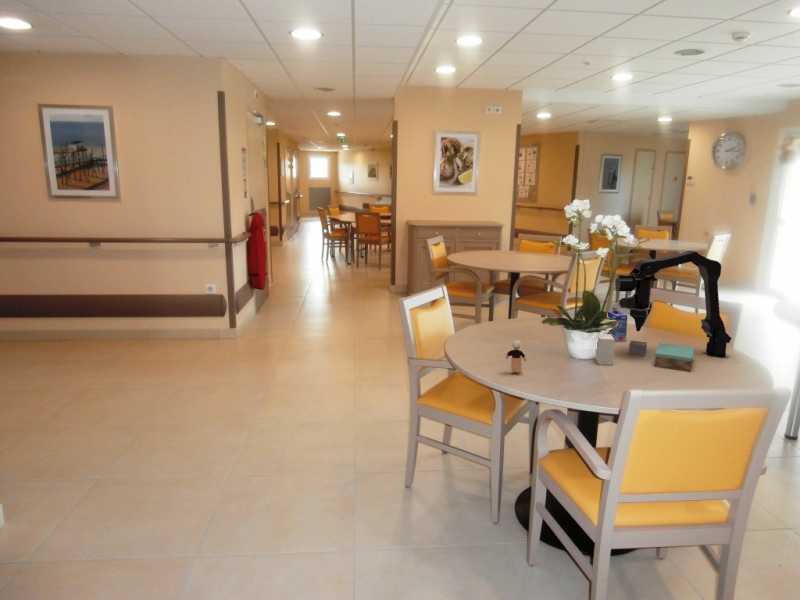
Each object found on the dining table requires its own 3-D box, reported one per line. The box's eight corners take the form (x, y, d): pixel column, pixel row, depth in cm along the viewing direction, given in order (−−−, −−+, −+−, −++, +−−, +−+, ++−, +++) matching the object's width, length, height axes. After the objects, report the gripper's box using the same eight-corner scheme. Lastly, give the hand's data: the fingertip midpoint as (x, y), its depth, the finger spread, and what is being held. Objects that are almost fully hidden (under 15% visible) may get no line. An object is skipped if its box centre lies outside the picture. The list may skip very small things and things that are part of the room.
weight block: (645, 353, 220) (646, 342, 219) (644, 357, 216) (645, 345, 215) (630, 351, 223) (631, 340, 222) (628, 354, 219) (629, 343, 218)
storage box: (692, 359, 212) (693, 350, 211) (689, 371, 198) (691, 361, 198) (659, 355, 218) (660, 345, 217) (654, 366, 204) (655, 356, 204)
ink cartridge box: (604, 335, 247) (606, 305, 244) (615, 335, 247) (618, 305, 244) (614, 341, 237) (616, 310, 234) (626, 341, 238) (628, 310, 235)
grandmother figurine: (525, 371, 200) (526, 339, 197) (526, 375, 196) (527, 342, 193) (504, 370, 201) (505, 338, 198) (505, 374, 197) (506, 341, 195)
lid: (694, 350, 211) (694, 347, 210) (691, 361, 197) (692, 358, 197) (659, 345, 217) (659, 342, 217) (654, 356, 203) (655, 353, 203)
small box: (613, 365, 206) (615, 339, 204) (598, 364, 207) (599, 338, 205) (609, 359, 214) (611, 333, 211) (594, 358, 215) (596, 333, 213)
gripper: (625, 286, 226) (622, 321, 229) (617, 293, 210) (614, 331, 213) (653, 288, 220) (650, 324, 223) (648, 296, 205) (644, 335, 208)
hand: (639, 328), depth 217 cm, fingers open, 9 cm apart
